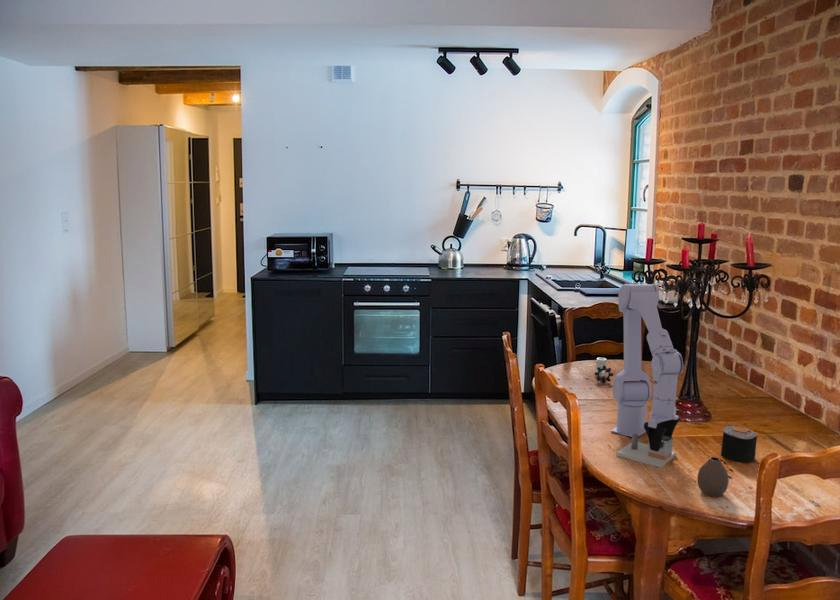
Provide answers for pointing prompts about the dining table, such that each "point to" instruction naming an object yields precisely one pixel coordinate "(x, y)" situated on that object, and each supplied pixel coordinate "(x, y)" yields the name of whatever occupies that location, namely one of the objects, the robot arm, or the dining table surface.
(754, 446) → the sushi
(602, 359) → the valve
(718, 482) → the vase
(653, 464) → the pin board
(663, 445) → the sleeve
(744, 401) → the dining table surface
